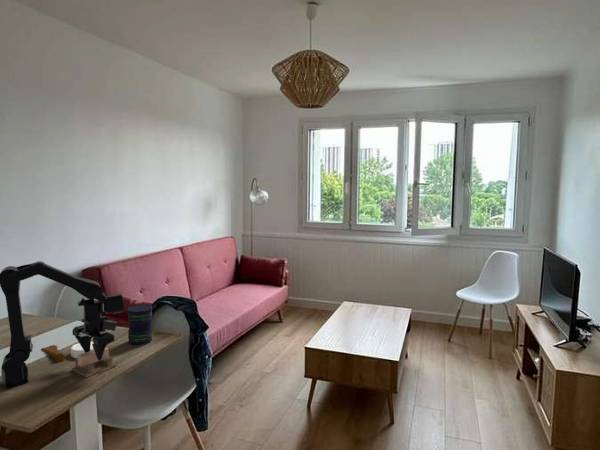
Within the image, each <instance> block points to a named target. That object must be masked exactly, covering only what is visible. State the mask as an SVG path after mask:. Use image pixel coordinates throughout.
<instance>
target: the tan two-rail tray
mask: <svg viewBox="0 0 600 450" xmlns="http://www.w3.org/2000/svg"><path fill="white" fill-rule="evenodd" d="M74 359H75V360H74V363H75V364H74V366H73V367H71V370H72V371H73V372H75V373H77V374H79V375H81V376H83V377H84V378H89V377H91V376H94V375H96V374H99V373H102V372H104V371H108V370H110V369H113V368H116V367H117V365H116V363H113V357H112V356H109V357H108V358H106V359H103V360H100V361H97V362H94V363H91V364H88V365H86V366H83V367H82V366H80V365H78V358H74Z"/></svg>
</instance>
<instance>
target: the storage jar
mask: <svg viewBox="0 0 600 450" xmlns="http://www.w3.org/2000/svg"><path fill="white" fill-rule="evenodd" d="M152 320H153V307H152V305H148V304H136V305H132V306H130V307H128V308H127V322H128V330H127V338H128V344H129V345H131V346H145V345H148V344H150V343H152V342H151V341H153V327H152Z"/></svg>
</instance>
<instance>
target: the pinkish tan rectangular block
mask: <svg viewBox="0 0 600 450" xmlns="http://www.w3.org/2000/svg"><path fill="white" fill-rule="evenodd" d="M108 357H110V350H109V348H108V347H107V346H106V347H105V350H104V353H103V356H102V359H101V360H103V359H106V358H108ZM77 359H78V365H80V366H82V367H83V366H86V365H88V364H91V363H94V362H97V361H100V360H98V359H97V357H96V354H95V351H94V350H92V351H89V352H86V353H83V354H80V355H78V358H77Z"/></svg>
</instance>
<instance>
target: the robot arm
mask: <svg viewBox="0 0 600 450" xmlns="http://www.w3.org/2000/svg"><path fill="white" fill-rule="evenodd" d="M35 276H41V277H44V278H46V279H49V280H52V282H53V281H54V282H56V283H59V284H61V285H64V286H65V287H69V288H71V289H72V290H74V291H76V292H77V293H78V294H80V295H81V296H83V297H81V299H80V300H79V301H77V306H78V307H81V306H82V307H83V318H81V323H83V324H82V325H78V326H75V327H74V328H73V329H72V330H71V331H72V333H71V334H72V336H74V337H75V339H76V340H77V342H78V343H80V345H81V346H82V348H83V350H84V352H85V353H86V352H89V351H90V345H91V341H93V343H94V344H92V346H93V349H94V351H95V354H96V357H97V359H98V360H101V359H102V356H103V353H104V350H105V347H106V348H107V346H108V345H109V344H111V343H113V342H115V335H114V334H112V333H111V332H108V331H112V332H115V331H116V328H117V325H118V321H117V322H116V321H114V320H111V319H109V317H108V316H104V315H103V316H102V312H103V313H105V314H107V315H110V314H118V313H124V305H125V304H124V300H123V294H122V293H118V294H113V295H106V294H105V292H103V291H102V288H101V285H100V283H99V282H98V281H96V280H94V279H93V280H92V279H88V278H83V277H78V276H75V275H73V274H70V273H68V272H66V271H63V270H61V269H59V268H56V267H55V266H51V265H49V264H47V263H45V262H44V261H40V260H39V261H36V262H32V263H29V264H22V265H20V266H13V265H10V266H6V267H4V268H3V269H2V270H1V271H0V289H1V290H2V293H3V295H4V297H5V303H6V310H7V317H8V323H9V331H10V343H9V344H10V345H9V352H8V353H7V354H5V356H4V357H3V361H2V364H1V370H0V371H1V381H0V385H1V386H2V387H4V388H5V389H7V390H8V389H12V388H15V387H18V386H21V385H24V384H27V383H29V382H30V380H29V367H28V366H27V363H26V361H27V360H28V359H29V358H30V355H31V353H32V352H33V348H34V344H33V342H32V334H29V335H27V334H26V332H25V326H24V317H23V309H22V304H21V302H22V301H21V296H20V288H21V281H25V280H26V279H29V278H32V277H35ZM85 298H86V299H85Z"/></svg>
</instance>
